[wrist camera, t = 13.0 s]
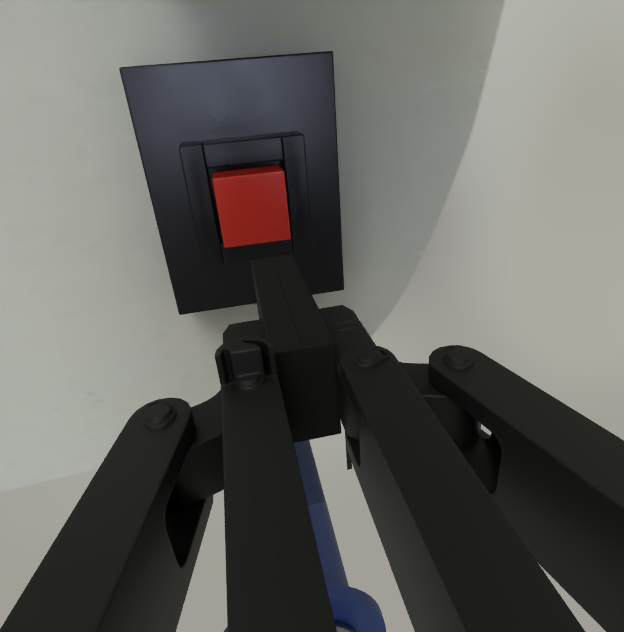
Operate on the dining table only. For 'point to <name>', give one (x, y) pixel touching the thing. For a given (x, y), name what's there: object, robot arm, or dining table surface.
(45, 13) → the dining table surface
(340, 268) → the switch base
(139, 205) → the dining table surface
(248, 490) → the robot arm
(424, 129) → the dining table surface
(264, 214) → the button
